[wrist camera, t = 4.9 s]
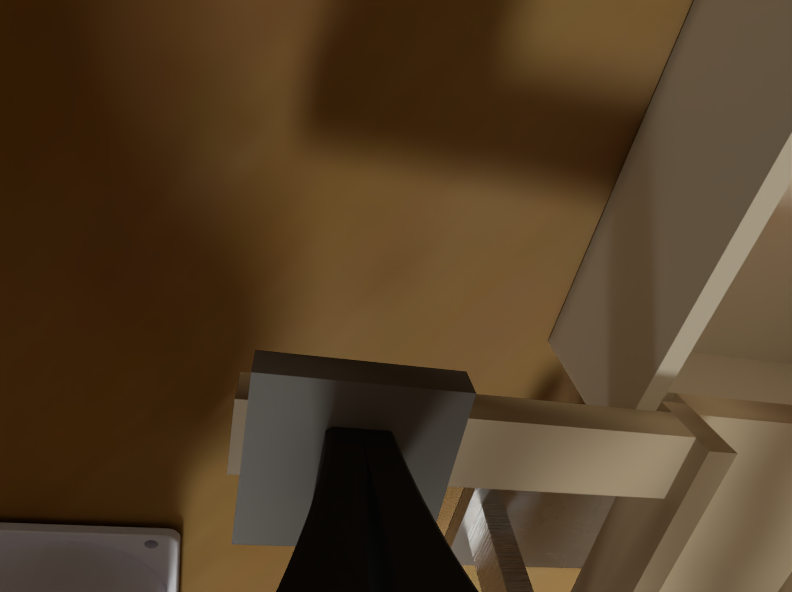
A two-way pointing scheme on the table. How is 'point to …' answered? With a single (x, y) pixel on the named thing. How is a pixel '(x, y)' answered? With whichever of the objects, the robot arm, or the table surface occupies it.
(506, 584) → the lever stand
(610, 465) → the lever
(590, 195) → the table surface
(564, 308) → the cream open box
